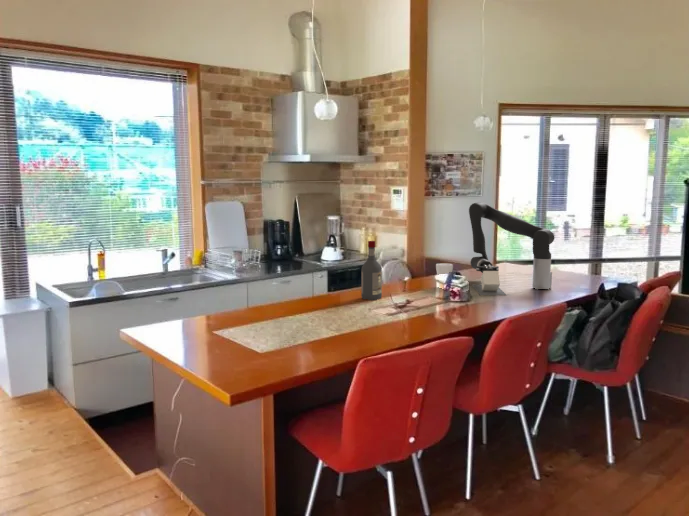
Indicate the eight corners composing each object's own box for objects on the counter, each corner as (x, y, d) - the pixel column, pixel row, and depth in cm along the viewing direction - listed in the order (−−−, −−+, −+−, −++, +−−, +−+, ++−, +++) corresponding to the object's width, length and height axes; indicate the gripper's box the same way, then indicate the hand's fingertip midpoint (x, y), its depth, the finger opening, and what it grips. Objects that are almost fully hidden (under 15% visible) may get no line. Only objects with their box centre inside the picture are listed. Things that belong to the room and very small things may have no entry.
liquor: (359, 299, 303) (359, 241, 298) (367, 295, 311) (367, 239, 306) (375, 300, 298) (375, 242, 294) (383, 297, 306) (383, 240, 302)
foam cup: (432, 286, 335) (432, 264, 334) (445, 285, 339) (446, 263, 337) (441, 289, 327) (442, 266, 325) (455, 287, 331) (456, 265, 329)
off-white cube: (483, 270, 317) (484, 284, 313) (498, 271, 316) (499, 284, 312) (481, 277, 324) (482, 290, 320) (495, 277, 323) (497, 290, 319)
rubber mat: (471, 285, 338) (471, 284, 338) (495, 285, 337) (495, 284, 337) (480, 295, 310) (480, 294, 310) (506, 295, 309) (506, 294, 309)
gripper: (473, 259, 335) (478, 264, 318) (496, 259, 334) (502, 264, 317) (472, 272, 336) (478, 277, 319) (496, 272, 335) (502, 277, 318)
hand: (490, 270), depth 318 cm, fingers closed
